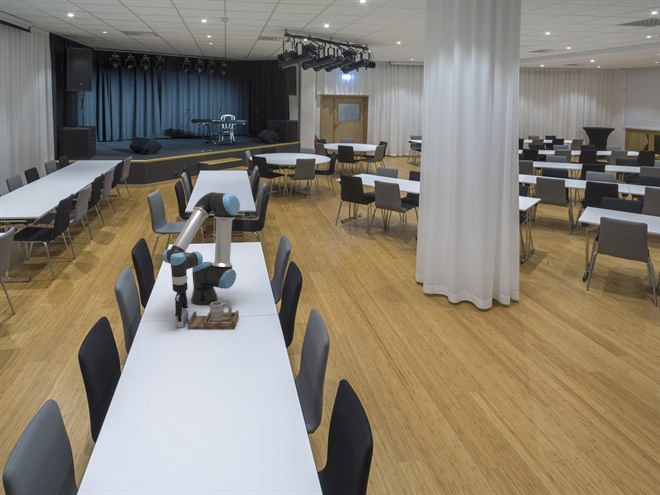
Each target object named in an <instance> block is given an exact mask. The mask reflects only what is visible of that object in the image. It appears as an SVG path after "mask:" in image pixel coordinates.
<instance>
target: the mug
mask: <svg viewBox="0 0 660 495" xmlns="http://www.w3.org/2000/svg"><path fill="white" fill-rule="evenodd" d="M209 305H210V306H209V307H210V308H209V312H211V317H210V320H211V322H223V321H224V319H225V316H228V317H229V318H230V316H231V314H232V312H233V308H232V305H231V303H230V301H229V298H228V297H227V298H226V300H225V302H222V301H218V300H217V301H216V302H212V303H211V304H209ZM224 306H226V307H227V308H228V309H227V311H226V312H227V313H226V312H225V308H224Z"/></svg>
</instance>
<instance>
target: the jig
mask: <svg viewBox="0 0 660 495" xmlns="http://www.w3.org/2000/svg"><path fill="white" fill-rule="evenodd" d="M227 312H228V311H226V313H227ZM210 317H211V311H209V312H208V313H207V315H197V311H193V312H192V314H191V315H190V316H189V321H188V323H187V330H235V329H236V327H237V324H238V322H239V319H240V317H239V310H235V311H232V314H231V316H230V318H229V317H228V316H225V319H224V321H223V322H211V320H210Z"/></svg>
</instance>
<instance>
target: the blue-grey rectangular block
mask: <svg viewBox="0 0 660 495" xmlns="http://www.w3.org/2000/svg"><path fill="white" fill-rule="evenodd" d="M182 315H183V327H182V328H185V327H186V325H188V321H189V319H190V317H189V310H188V309H187V310H182ZM175 320H176V321H175V322H176V328H179V327H178V323H177V316H175Z"/></svg>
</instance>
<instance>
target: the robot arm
mask: <svg viewBox="0 0 660 495" xmlns="http://www.w3.org/2000/svg"><path fill="white" fill-rule="evenodd" d="M240 203H241V202H240V200H239V198H238V197H237V196H236V195H235V194H233V193H227V192H226V193H225V192H224V193H223V192H215V191H212V192H208V193H206V194H204V195H202V196H201V198H199V199H198V200H197V202H196V203H195V204H194V206H193V208H192V212H191V215H190V216H189V218H188V219H187V221H186V223H185V224H184V226H183V227H182V229H181V230H180V232H179V234H178V236H177V238H176V240H175V241H174V242H173V244H172V246H170V247H171V248H170V249H165V250H164V251H163V252H162V255H161V258H162V261H163V262H164V263H165V264H170V270H171V283H172V291H173V292H174V293H176V294H175V297H174V299H175V300H174V302H175V306H174V307H175V314H174V316H175V317H176V316H177V323H178V327H177V328H184V327H183V315H182V310H188V309H189V305H188V304H189V303H188V296H187V291H188V286H189V285H188V278H189V277H188V275H187V274H188V273H187V270H190V269H192V270H191V273H192V283H193V285H192V286H193V290H192V293H191V297H190V301H191V303H192V304H193V305H196V306H207V305H210V304H211V303H212V302H217V301H218V294H217V292H216V289H215V288H220V289H225V290H226V289H227V290H228V289H230V288H232V287H233V285H234V284H235V282H236V279H237V272H236V271H235V270H234V269H233V263H232V262H231V248H232V247H231V246H232V230H233V229H232V227H233V220H235V219H236V216H237V214H238V213H239V211H240V208H241V204H240ZM211 214H213V217H214V218H215V219H216V230H215V244H214V245H215V247H214V252H215V253H214V261H213V262H212V261H204V258H203V255H202V253H201V252H199V251H193V252H188V251H187V249H188V247H189V246H190V244H191V243H192V241H193V239H194V238H195V236H196V235H197V233H198V231H199V229H200V228H201V226H202V224H203V223H204V221H205V219H207V218H209V216H210V215H211ZM186 251H187V252H186Z"/></svg>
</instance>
